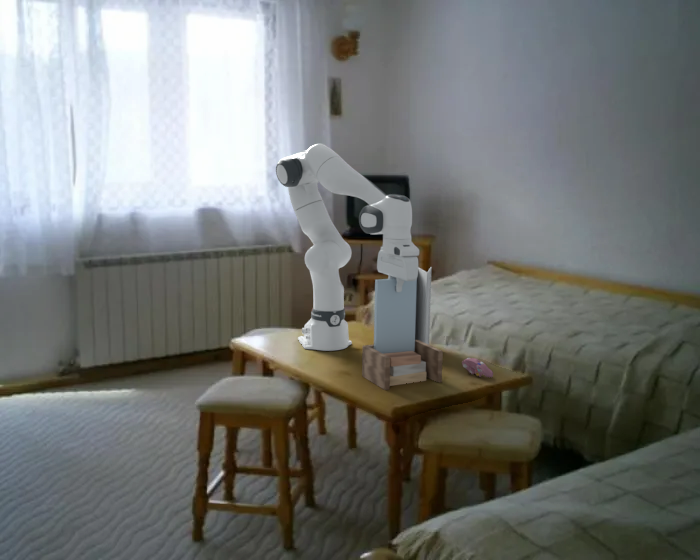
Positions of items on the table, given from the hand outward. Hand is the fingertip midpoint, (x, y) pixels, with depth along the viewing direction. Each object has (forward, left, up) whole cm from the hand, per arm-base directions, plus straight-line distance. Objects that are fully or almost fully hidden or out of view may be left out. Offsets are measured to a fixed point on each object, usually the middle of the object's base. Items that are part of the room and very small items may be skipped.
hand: (395, 290), depth 230 cm
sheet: (0, 0, -20) cm, 20 cm away
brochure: (-21, +22, -28) cm, 41 cm away
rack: (+4, 0, -27) cm, 28 cm away
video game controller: (+11, +24, -28) cm, 38 cm away
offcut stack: (+6, 0, -28) cm, 28 cm away
